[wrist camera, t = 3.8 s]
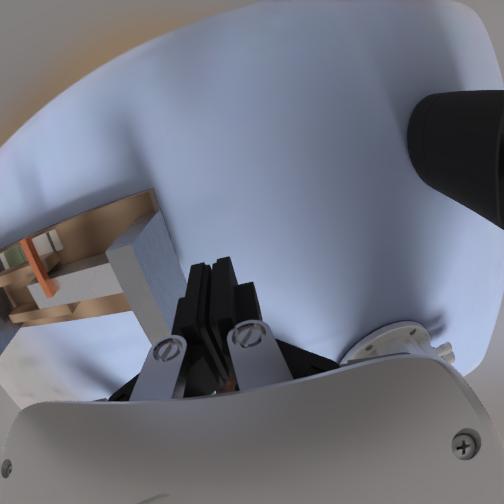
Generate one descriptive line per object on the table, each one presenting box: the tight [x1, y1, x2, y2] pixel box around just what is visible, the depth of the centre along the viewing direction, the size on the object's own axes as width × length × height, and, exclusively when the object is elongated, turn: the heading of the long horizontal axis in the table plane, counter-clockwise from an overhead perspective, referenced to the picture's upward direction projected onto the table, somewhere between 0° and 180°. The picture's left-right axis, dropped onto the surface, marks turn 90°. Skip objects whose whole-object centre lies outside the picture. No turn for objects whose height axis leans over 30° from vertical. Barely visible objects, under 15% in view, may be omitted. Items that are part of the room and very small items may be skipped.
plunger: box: [20, 209, 187, 345], centre depth 16 cm, size 14×8×6 cm, turn 102°
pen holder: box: [408, 90, 504, 230], centre depth 14 cm, size 9×9×10 cm
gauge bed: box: [0, 188, 159, 327], centre depth 20 cm, size 24×9×3 cm, turn 102°
